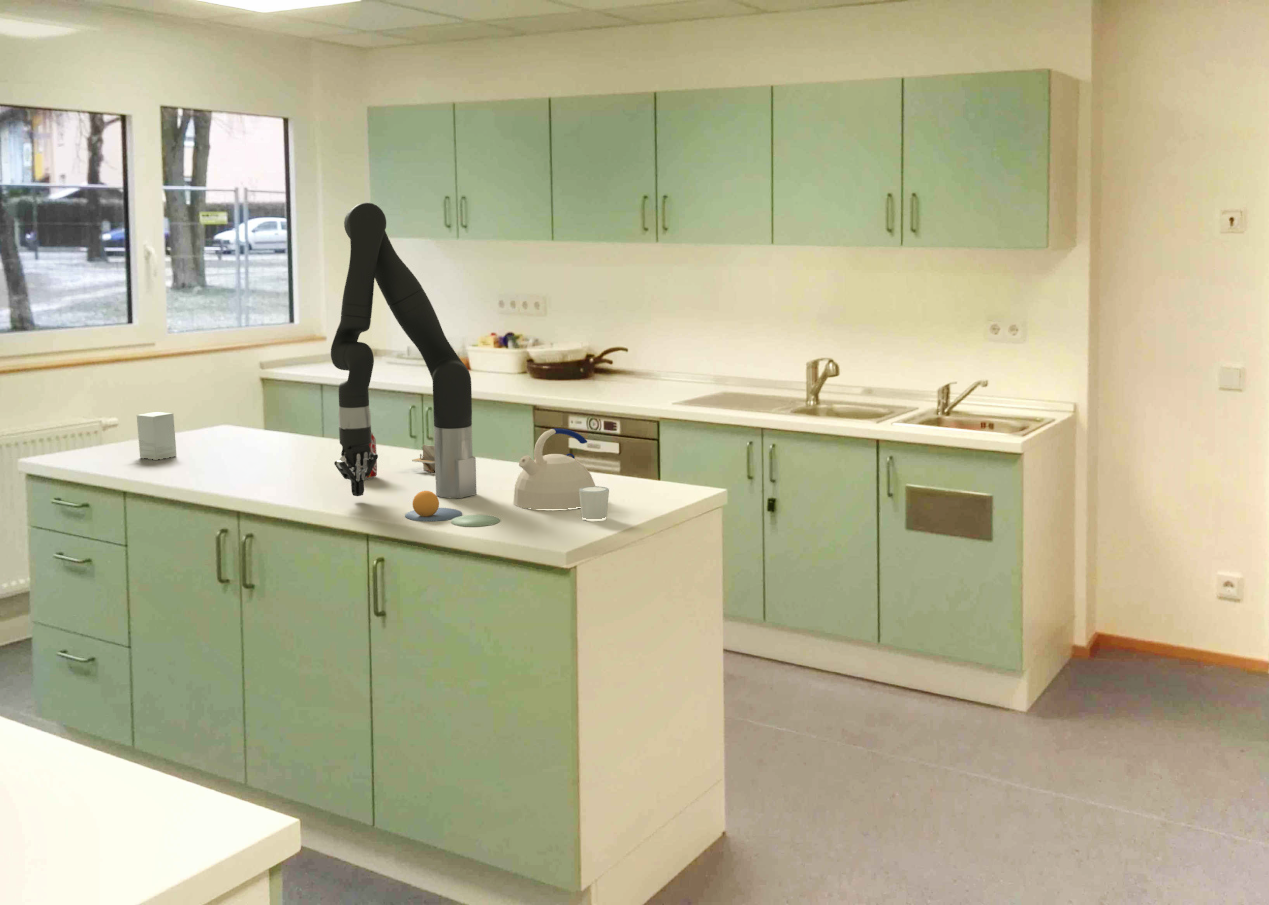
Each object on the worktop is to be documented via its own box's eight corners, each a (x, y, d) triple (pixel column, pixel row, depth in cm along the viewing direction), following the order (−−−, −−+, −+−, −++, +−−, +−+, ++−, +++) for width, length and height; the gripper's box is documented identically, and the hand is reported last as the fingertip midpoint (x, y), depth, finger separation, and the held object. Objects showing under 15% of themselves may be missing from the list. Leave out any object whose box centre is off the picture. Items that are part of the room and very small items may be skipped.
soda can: (371, 481, 340) (369, 435, 338) (345, 480, 341) (343, 434, 339) (381, 475, 347) (379, 431, 344) (356, 474, 348) (354, 430, 346)
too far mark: (509, 519, 297) (509, 519, 296) (475, 529, 288) (475, 528, 288) (475, 513, 303) (475, 512, 303) (440, 522, 295) (440, 521, 295)
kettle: (494, 502, 315) (493, 428, 312) (559, 489, 329) (558, 419, 326) (549, 516, 301) (548, 438, 298) (614, 502, 315) (614, 428, 312)
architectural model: (432, 475, 349) (432, 448, 348) (412, 473, 352) (411, 446, 351) (440, 473, 352) (440, 446, 350) (420, 471, 355) (419, 444, 354)
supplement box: (177, 456, 375) (174, 413, 373) (155, 460, 369) (152, 416, 367) (160, 454, 379) (157, 411, 377) (138, 458, 373) (135, 414, 370)
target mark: (473, 513, 303) (473, 512, 303) (432, 524, 293) (432, 523, 293) (434, 506, 311) (434, 505, 311) (393, 516, 301) (393, 515, 301)
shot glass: (573, 519, 297) (572, 489, 296) (592, 514, 302) (592, 484, 301) (596, 523, 293) (596, 493, 291) (615, 518, 298) (615, 488, 297)
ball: (423, 492, 304) (432, 517, 303) (404, 497, 300) (412, 522, 299) (439, 485, 300) (447, 509, 300) (419, 490, 296) (427, 515, 295)
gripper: (362, 419, 320) (365, 488, 323) (323, 427, 309) (326, 498, 312) (385, 422, 316) (388, 492, 319) (346, 429, 305) (349, 502, 308)
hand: (357, 495), depth 316 cm, fingers closed
